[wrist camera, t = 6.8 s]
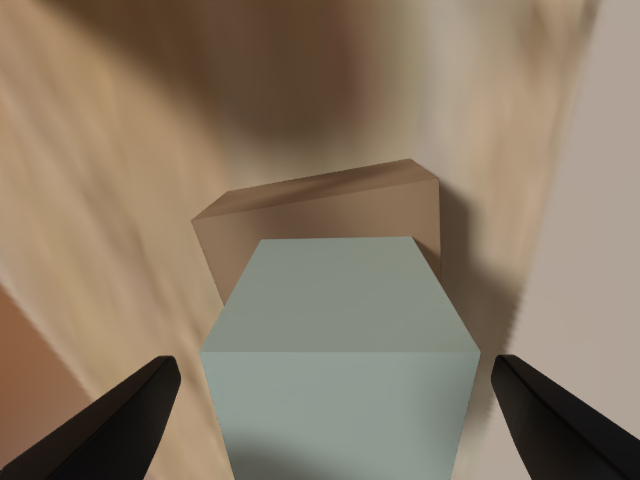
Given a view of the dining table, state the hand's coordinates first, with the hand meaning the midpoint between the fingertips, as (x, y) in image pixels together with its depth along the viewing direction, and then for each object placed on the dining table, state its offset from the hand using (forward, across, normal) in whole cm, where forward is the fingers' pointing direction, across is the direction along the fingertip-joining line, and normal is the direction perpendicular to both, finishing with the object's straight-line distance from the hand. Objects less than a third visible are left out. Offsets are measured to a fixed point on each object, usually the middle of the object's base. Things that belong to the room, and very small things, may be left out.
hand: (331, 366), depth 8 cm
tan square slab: (+7, 0, 0) cm, 7 cm away
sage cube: (+3, 0, 0) cm, 3 cm away
